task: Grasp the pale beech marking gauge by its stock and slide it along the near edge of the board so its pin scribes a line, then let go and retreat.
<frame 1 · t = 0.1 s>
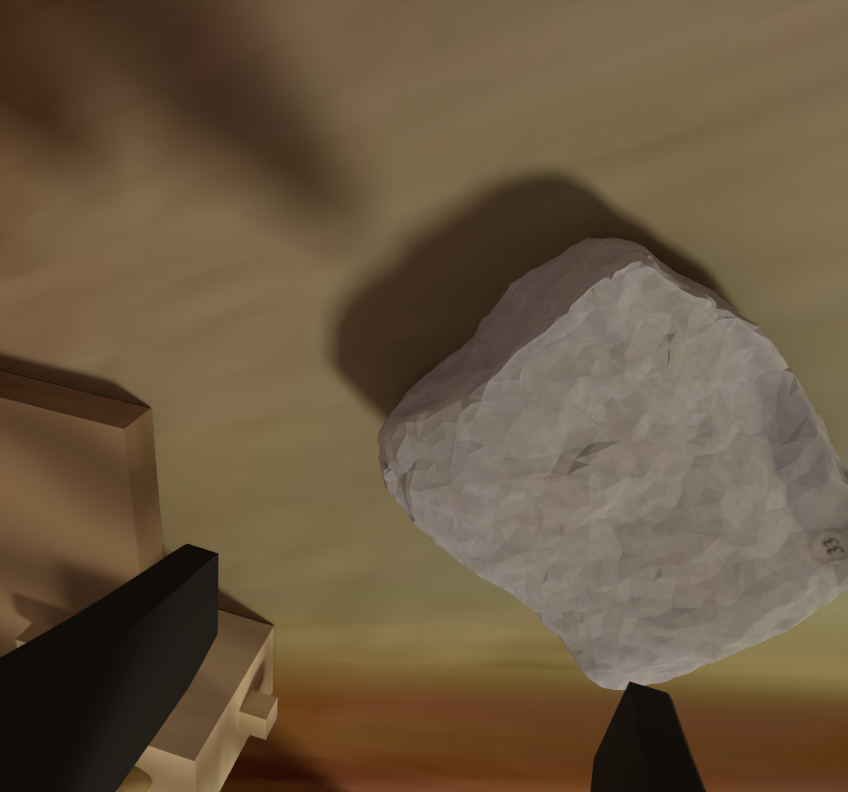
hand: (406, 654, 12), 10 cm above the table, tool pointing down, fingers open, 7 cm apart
gauge: (133, 694, 26), point 3 cm above the table, slide at 3.0 cm
stone block: (629, 437, 20), on the table
board: (82, 569, 29), on the table
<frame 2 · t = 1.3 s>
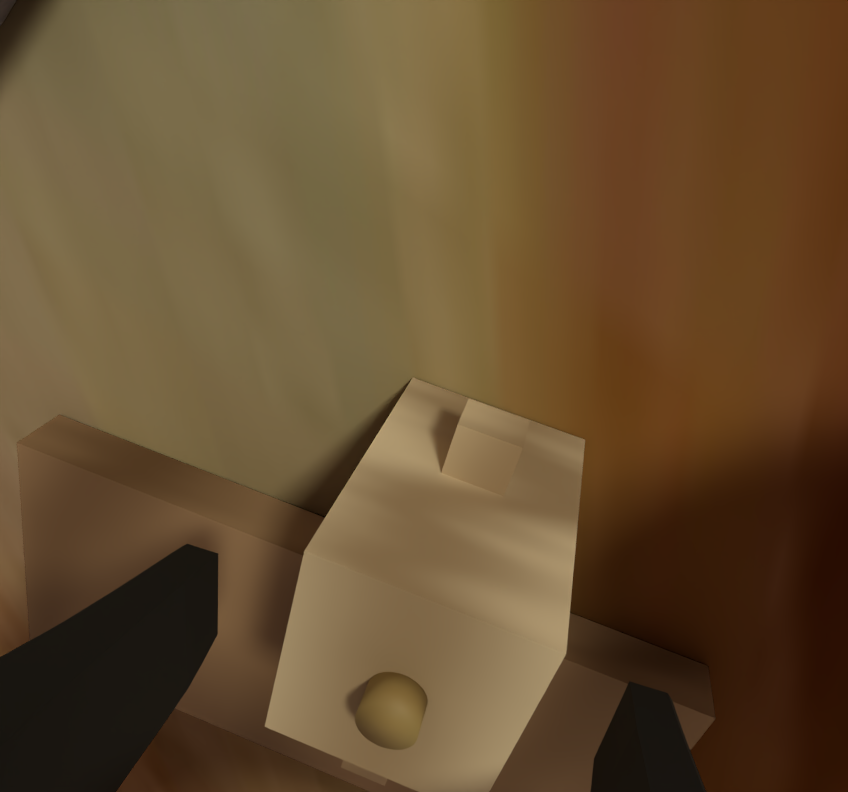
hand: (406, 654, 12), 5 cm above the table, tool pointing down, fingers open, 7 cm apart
gauge: (410, 649, 14), point 3 cm above the table, slide at 3.0 cm
board: (338, 635, 19), on the table
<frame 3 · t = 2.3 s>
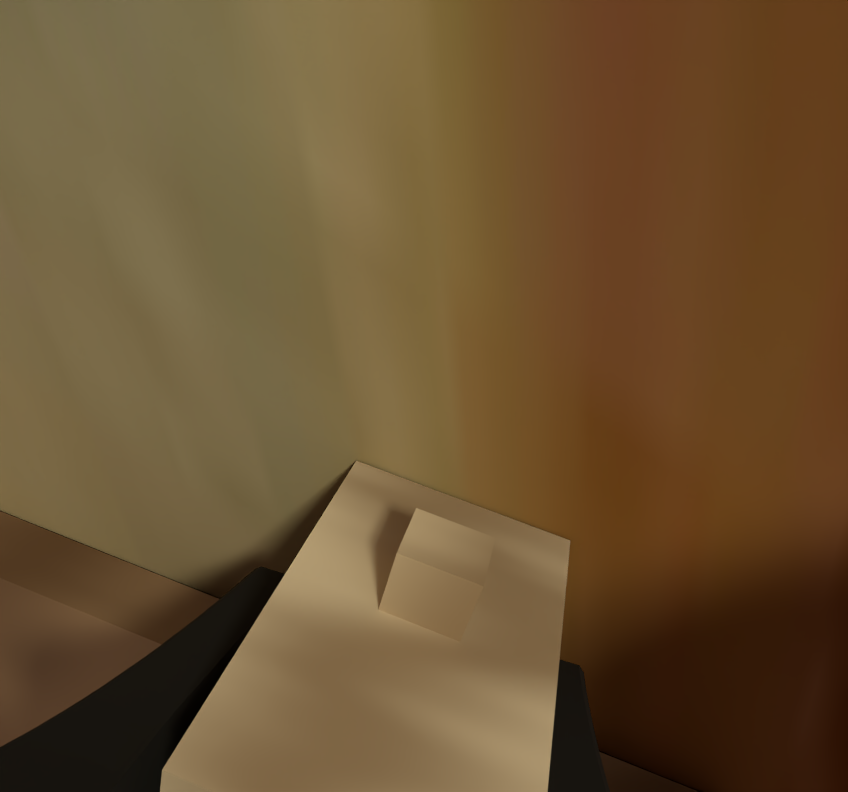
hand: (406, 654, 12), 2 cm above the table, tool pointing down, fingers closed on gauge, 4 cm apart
board: (283, 743, 16), on the table
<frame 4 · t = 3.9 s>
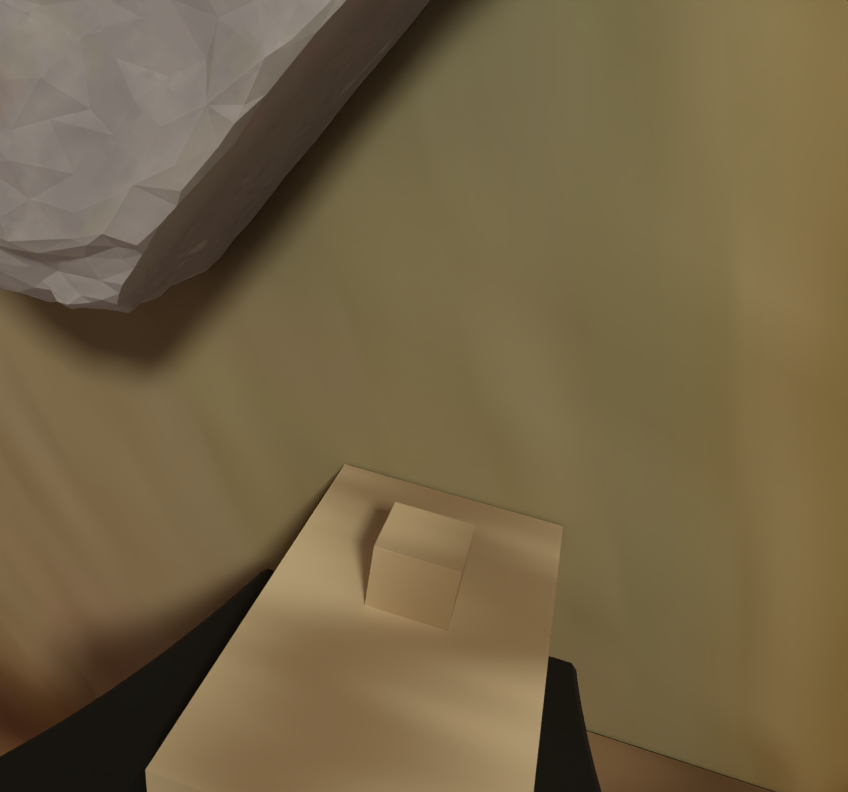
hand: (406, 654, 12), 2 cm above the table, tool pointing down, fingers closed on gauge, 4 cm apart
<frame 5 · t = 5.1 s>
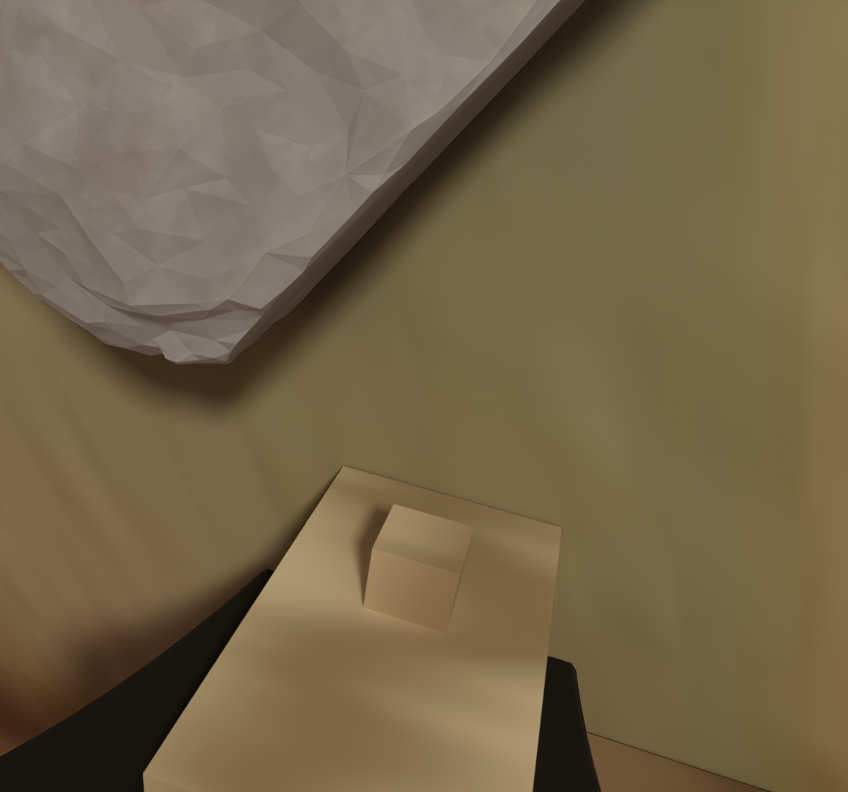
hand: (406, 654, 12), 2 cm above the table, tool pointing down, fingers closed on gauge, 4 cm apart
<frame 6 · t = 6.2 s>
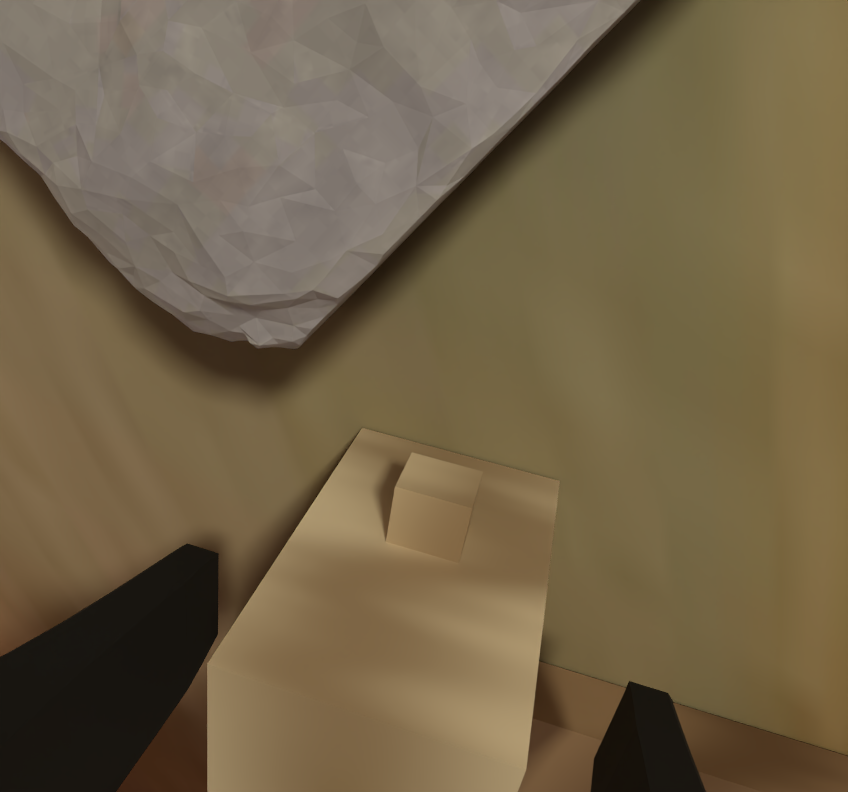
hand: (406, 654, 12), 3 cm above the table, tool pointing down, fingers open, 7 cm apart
gauge: (382, 737, 12), point 3 cm above the table, slide at 11.0 cm
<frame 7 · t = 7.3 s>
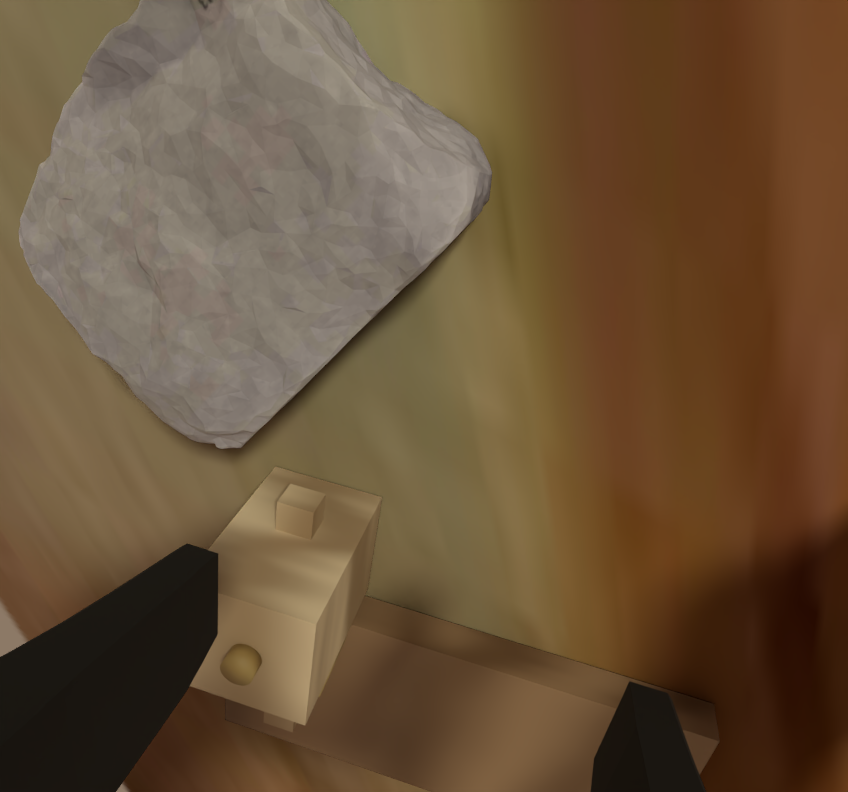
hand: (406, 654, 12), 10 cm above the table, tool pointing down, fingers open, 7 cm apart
gauge: (281, 636, 23), point 3 cm above the table, slide at 11.0 cm
stone block: (259, 197, 20), on the table
board: (449, 696, 27), on the table
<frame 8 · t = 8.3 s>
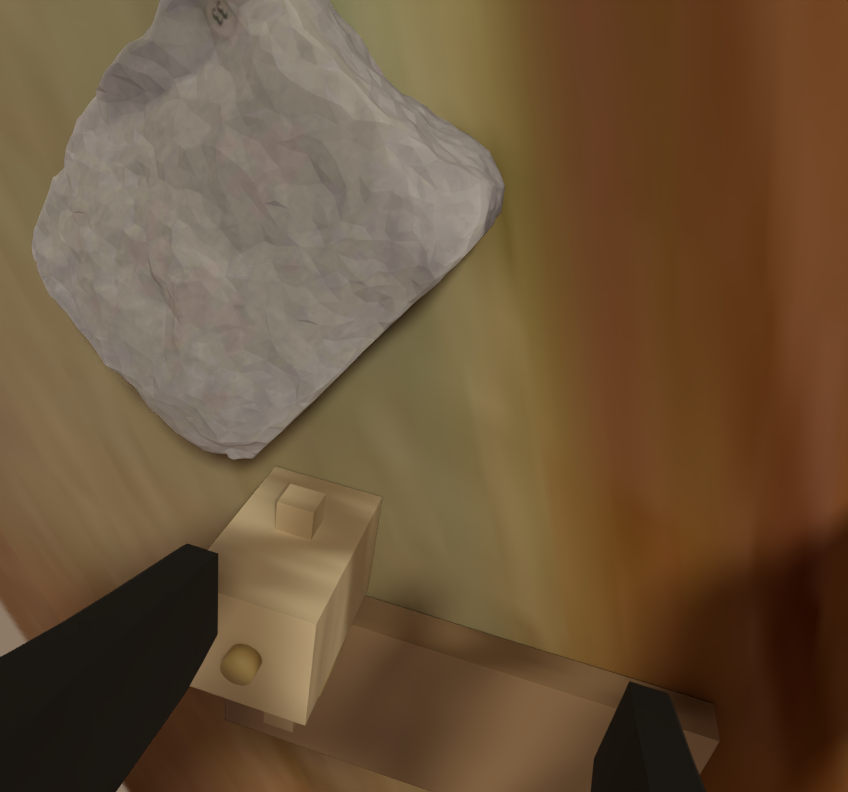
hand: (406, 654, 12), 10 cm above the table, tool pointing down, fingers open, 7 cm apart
gauge: (281, 636, 23), point 3 cm above the table, slide at 11.0 cm
stone block: (270, 208, 20), on the table
board: (449, 696, 27), on the table
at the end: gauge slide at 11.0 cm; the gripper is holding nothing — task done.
